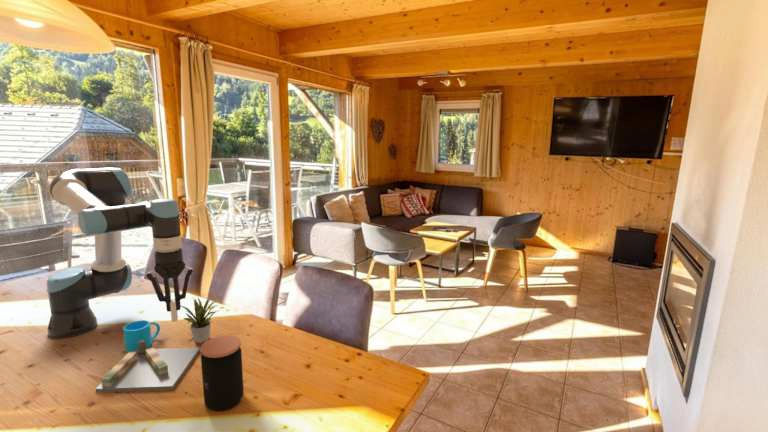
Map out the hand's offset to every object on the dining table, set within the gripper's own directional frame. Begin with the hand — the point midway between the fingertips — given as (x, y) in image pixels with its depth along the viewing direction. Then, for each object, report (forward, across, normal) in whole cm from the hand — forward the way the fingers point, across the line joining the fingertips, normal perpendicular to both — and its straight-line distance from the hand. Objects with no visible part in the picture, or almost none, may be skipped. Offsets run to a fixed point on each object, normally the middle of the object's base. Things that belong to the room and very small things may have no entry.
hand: (174, 319), depth 123 cm
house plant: (+18, +7, +18) cm, 27 cm away
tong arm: (+16, -7, +4) cm, 18 cm away
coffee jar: (+18, +13, -22) cm, 31 cm away
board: (+18, -8, +3) cm, 20 cm away
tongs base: (+17, -15, +6) cm, 23 cm away
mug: (+18, -13, +23) cm, 32 cm away
